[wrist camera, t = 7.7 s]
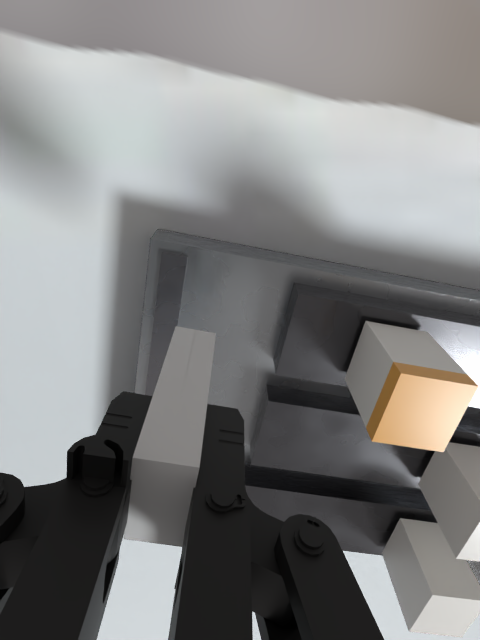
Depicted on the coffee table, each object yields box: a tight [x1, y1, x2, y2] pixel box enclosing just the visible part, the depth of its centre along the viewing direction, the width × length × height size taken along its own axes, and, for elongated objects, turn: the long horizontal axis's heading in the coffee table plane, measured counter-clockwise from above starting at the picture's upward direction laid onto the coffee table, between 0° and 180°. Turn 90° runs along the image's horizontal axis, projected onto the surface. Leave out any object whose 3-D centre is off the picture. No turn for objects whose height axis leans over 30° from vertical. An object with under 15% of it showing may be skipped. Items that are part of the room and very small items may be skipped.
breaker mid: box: [418, 442, 480, 562], centre depth 20 cm, size 3×3×4 cm
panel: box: [134, 229, 480, 555], centre depth 24 cm, size 28×18×4 cm, turn 79°
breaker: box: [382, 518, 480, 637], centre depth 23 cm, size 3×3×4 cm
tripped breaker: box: [345, 321, 479, 452], centre depth 17 cm, size 3×3×4 cm
